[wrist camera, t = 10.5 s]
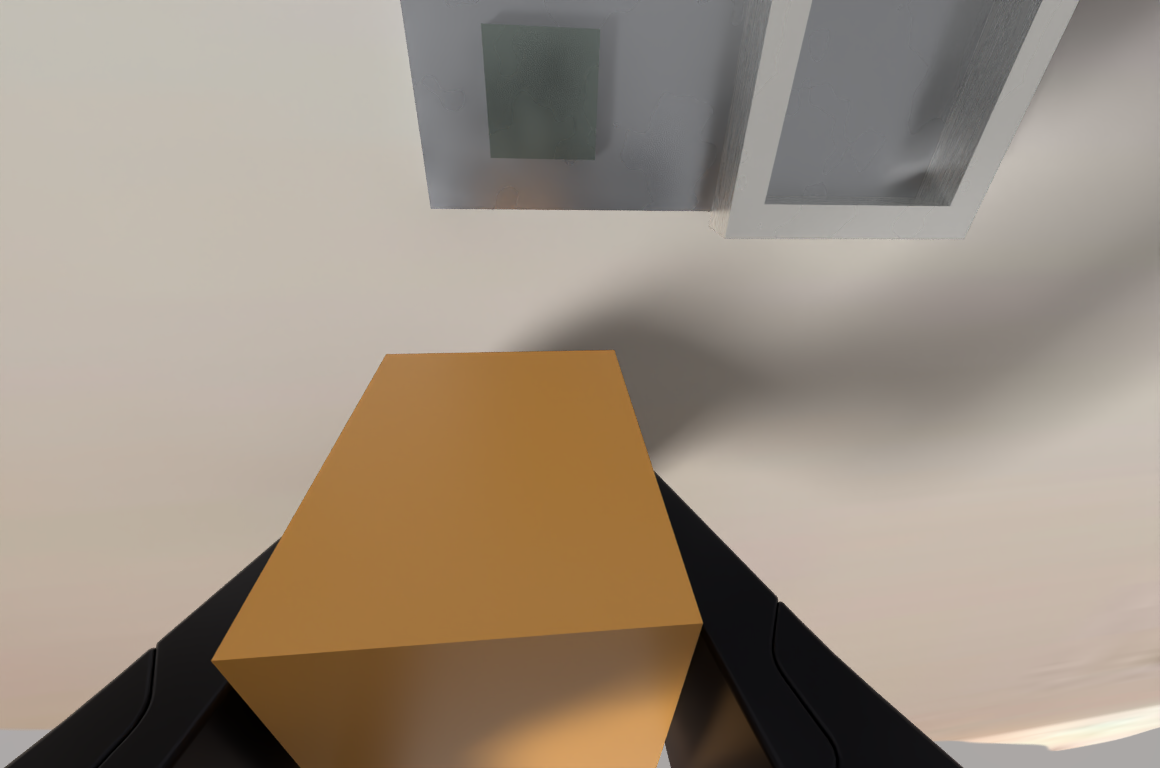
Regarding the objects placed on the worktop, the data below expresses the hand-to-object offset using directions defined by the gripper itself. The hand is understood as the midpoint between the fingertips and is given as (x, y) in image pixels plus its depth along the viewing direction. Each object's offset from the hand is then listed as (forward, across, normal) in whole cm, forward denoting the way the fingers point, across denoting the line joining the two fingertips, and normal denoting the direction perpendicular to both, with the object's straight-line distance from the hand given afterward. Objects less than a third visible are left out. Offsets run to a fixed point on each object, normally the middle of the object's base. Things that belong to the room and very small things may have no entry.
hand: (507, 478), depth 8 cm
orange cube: (+1, 0, 0) cm, 1 cm away
